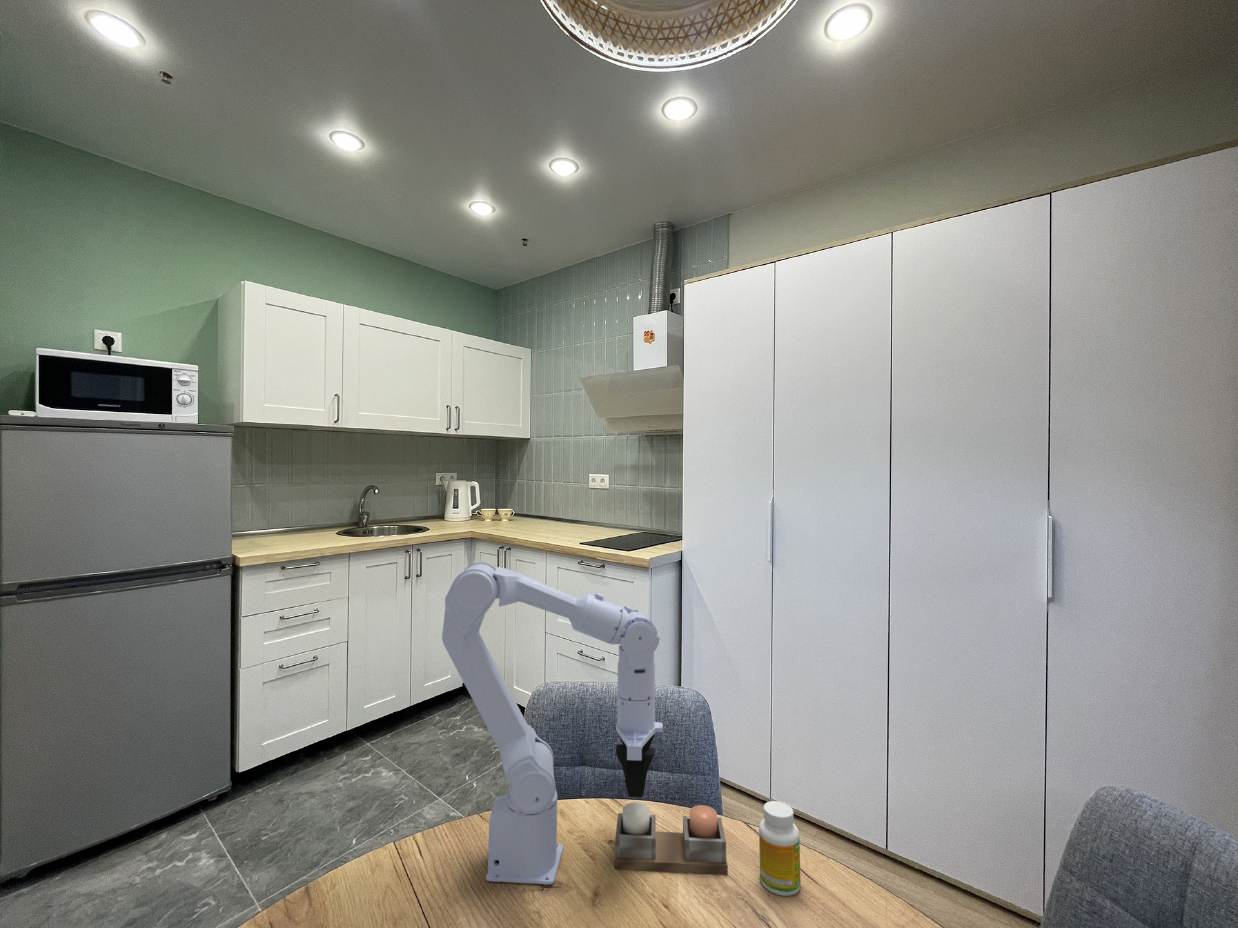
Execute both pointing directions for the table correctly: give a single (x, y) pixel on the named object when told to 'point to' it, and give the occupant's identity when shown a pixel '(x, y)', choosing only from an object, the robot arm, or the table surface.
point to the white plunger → (636, 818)
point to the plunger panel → (670, 850)
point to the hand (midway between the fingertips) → (636, 787)
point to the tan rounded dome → (703, 821)
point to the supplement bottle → (779, 850)
